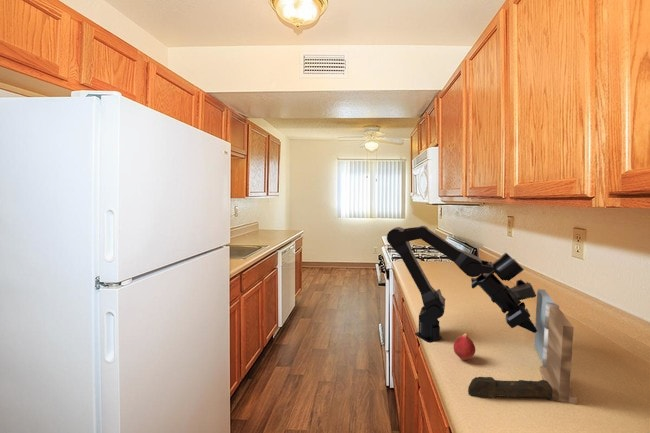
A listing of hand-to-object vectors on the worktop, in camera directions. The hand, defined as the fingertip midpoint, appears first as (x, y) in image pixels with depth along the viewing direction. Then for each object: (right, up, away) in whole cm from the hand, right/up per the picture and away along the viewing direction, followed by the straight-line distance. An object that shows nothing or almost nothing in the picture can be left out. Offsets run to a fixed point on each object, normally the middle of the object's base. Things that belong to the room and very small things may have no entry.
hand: (535, 330), depth 99 cm
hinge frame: (-4, -9, -14) cm, 17 cm away
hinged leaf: (+1, -7, -2) cm, 8 cm away
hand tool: (-19, -10, -20) cm, 29 cm away
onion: (-23, -8, -3) cm, 24 cm away
